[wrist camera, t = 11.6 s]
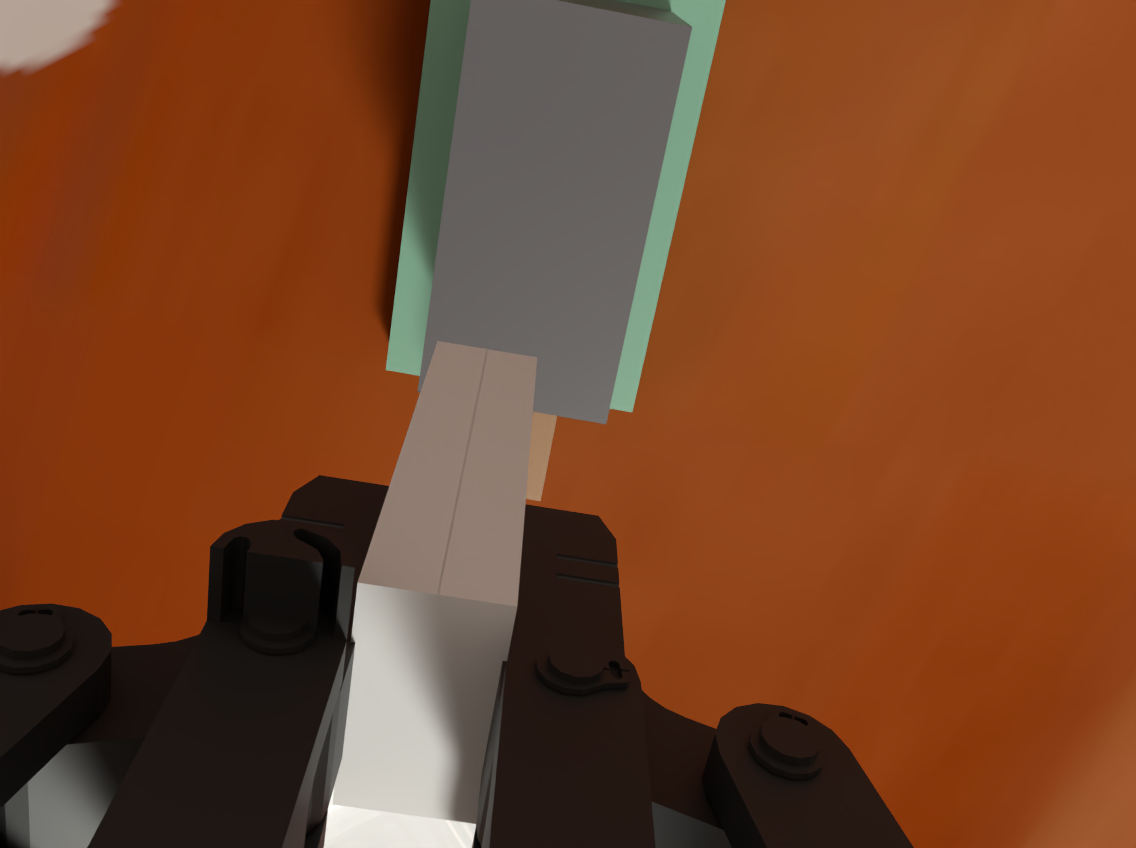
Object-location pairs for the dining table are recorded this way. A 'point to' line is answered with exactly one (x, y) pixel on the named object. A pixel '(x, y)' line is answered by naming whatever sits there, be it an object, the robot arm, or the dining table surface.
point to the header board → (436, 111)
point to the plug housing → (554, 193)
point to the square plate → (392, 830)
